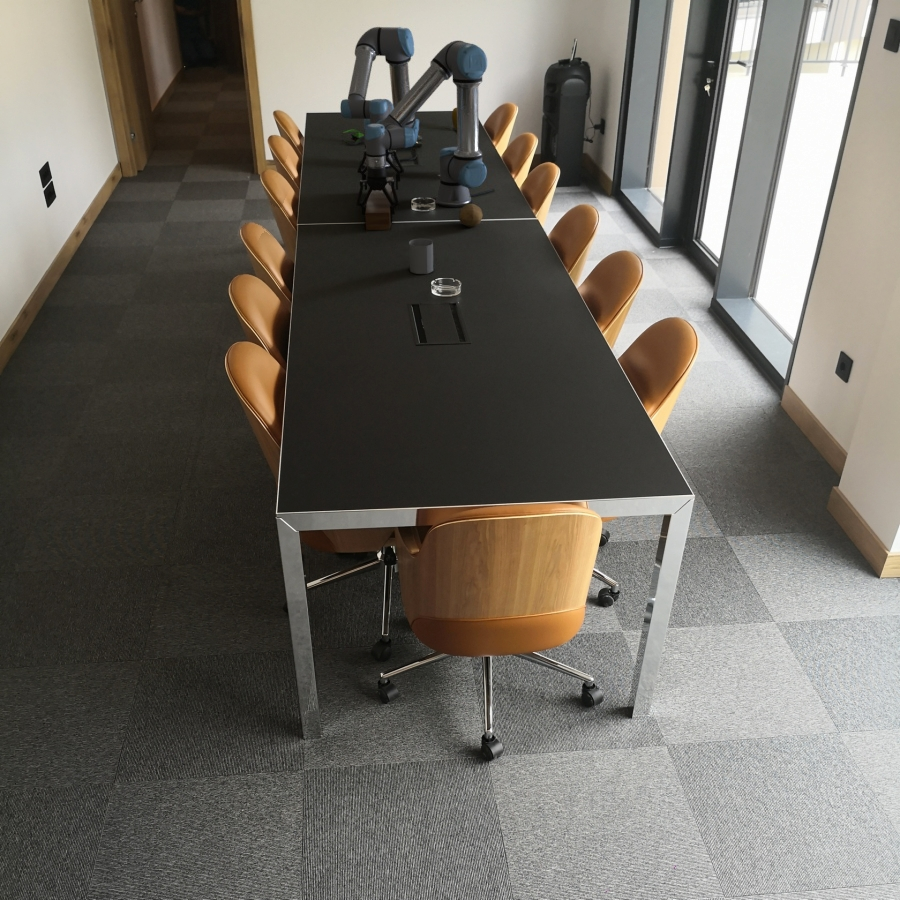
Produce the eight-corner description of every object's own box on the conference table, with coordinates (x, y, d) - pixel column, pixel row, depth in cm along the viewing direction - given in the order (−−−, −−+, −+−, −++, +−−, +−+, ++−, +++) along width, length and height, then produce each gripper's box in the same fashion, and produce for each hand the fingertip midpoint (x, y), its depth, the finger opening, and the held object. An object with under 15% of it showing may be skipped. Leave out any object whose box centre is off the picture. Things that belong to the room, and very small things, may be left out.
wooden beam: (372, 192, 388) (371, 177, 385) (393, 192, 388) (392, 177, 385) (366, 230, 345) (365, 212, 341) (390, 229, 345) (389, 212, 342)
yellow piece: (471, 132, 486) (471, 108, 479) (451, 132, 486) (451, 108, 479) (470, 128, 495) (471, 104, 488) (452, 128, 495) (452, 104, 488)
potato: (480, 219, 356) (481, 200, 351) (484, 230, 344) (484, 210, 340) (457, 220, 355) (457, 200, 351) (459, 231, 343) (459, 211, 339)
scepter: (397, 126, 468) (342, 124, 466) (397, 141, 461) (341, 139, 459) (397, 135, 473) (342, 133, 471) (397, 150, 466) (341, 148, 463)
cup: (409, 265, 311) (408, 238, 306) (432, 265, 312) (431, 238, 307) (410, 274, 304) (409, 246, 299) (433, 273, 305) (433, 246, 299)
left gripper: (349, 140, 365) (352, 191, 376) (408, 140, 365) (410, 191, 377) (350, 136, 371) (353, 186, 382) (409, 136, 372) (410, 186, 383)
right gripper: (347, 168, 336) (350, 225, 348) (404, 168, 337) (406, 225, 349) (348, 163, 342) (352, 219, 354) (404, 163, 343) (406, 219, 355)
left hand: (381, 189), depth 379 cm, fingers open, 13 cm apart
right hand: (378, 222), depth 352 cm, fingers closed on wooden beam, 10 cm apart
